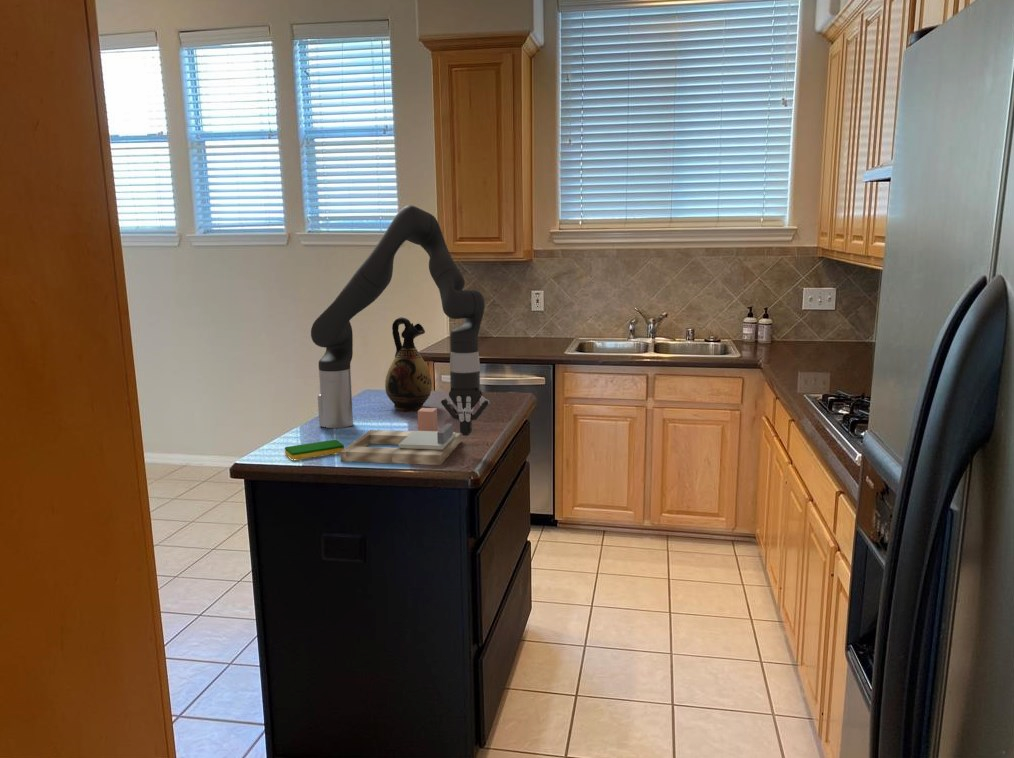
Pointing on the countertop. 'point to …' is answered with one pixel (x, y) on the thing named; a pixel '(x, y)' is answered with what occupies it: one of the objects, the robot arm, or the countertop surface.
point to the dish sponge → (314, 449)
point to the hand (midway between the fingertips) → (466, 434)
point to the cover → (429, 439)
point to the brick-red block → (427, 419)
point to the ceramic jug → (408, 370)
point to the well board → (394, 449)
